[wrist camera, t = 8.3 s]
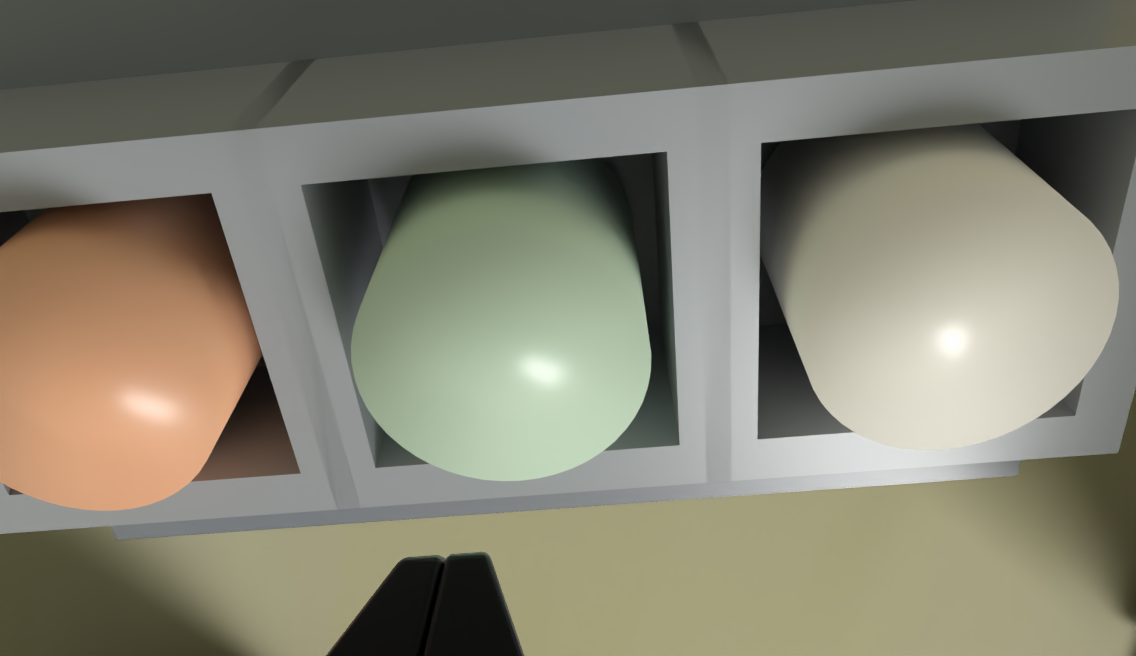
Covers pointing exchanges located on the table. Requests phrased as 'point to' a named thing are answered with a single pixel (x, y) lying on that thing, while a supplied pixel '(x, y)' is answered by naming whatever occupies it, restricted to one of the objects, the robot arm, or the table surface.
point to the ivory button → (932, 282)
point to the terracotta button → (118, 350)
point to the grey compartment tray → (539, 135)
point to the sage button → (506, 320)
